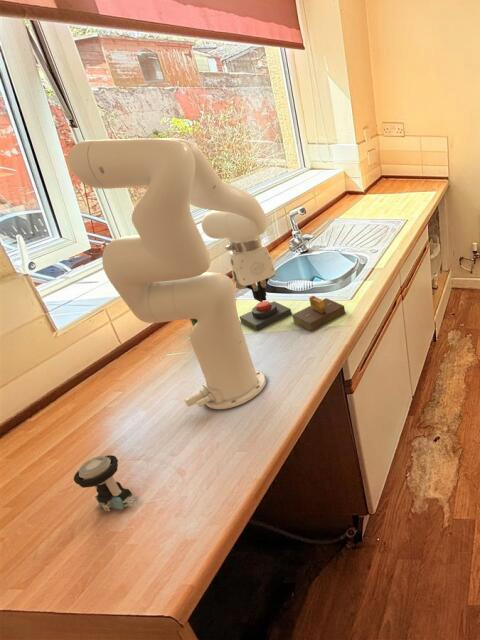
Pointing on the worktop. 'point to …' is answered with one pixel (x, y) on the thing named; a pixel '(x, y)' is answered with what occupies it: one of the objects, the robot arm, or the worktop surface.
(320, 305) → the lock turn
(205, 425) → the worktop surface
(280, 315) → the doorbell
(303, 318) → the plate
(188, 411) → the worktop surface
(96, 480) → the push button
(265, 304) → the bell button
